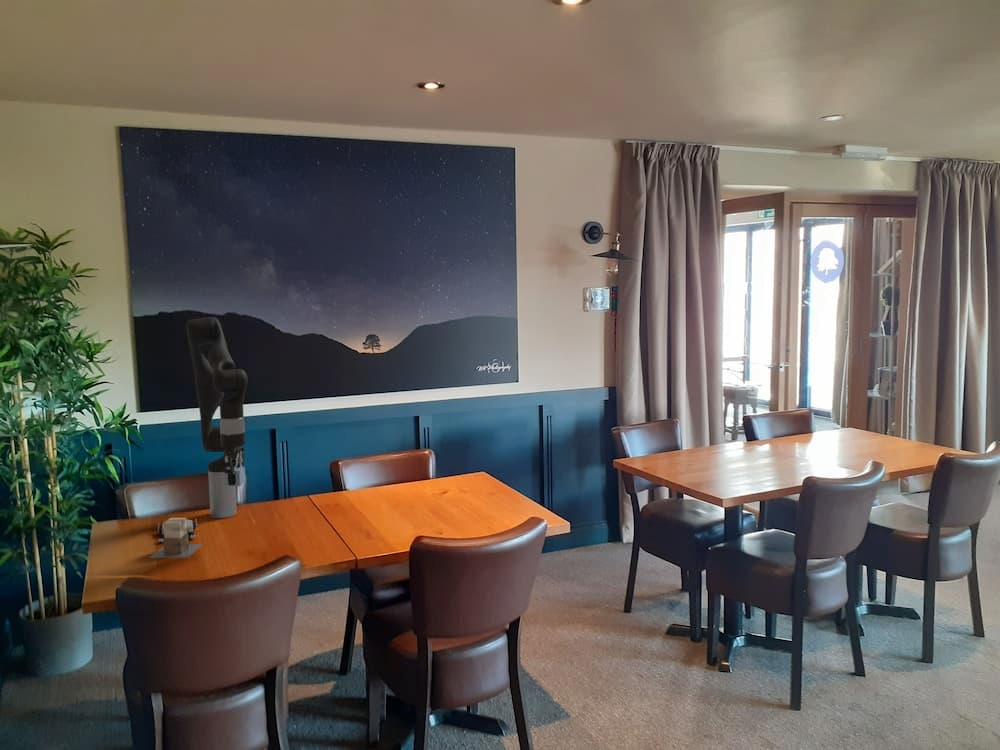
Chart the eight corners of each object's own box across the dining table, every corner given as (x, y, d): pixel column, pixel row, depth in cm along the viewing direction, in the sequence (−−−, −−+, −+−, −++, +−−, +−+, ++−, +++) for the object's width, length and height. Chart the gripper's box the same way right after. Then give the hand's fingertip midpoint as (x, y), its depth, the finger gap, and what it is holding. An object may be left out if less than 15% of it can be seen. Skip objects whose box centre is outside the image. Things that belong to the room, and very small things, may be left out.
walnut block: (171, 547, 240) (170, 532, 240) (188, 547, 240) (187, 532, 240) (164, 553, 235) (163, 538, 234) (181, 553, 235) (180, 538, 234)
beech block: (171, 533, 239) (170, 517, 239) (186, 532, 239) (186, 517, 239) (164, 538, 234) (163, 522, 234) (180, 538, 234) (179, 522, 234)
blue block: (230, 482, 245) (229, 467, 244) (245, 482, 245) (244, 467, 244) (224, 486, 240) (223, 470, 239) (240, 486, 240) (239, 470, 239)
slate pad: (166, 546, 244) (166, 544, 243) (202, 546, 244) (202, 544, 243) (149, 560, 232) (148, 557, 231) (187, 559, 232) (187, 557, 232)
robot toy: (197, 545, 248) (197, 528, 262) (197, 532, 247) (196, 516, 261) (157, 550, 244) (158, 533, 257) (156, 537, 243) (158, 520, 256)
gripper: (228, 427, 247) (231, 477, 249) (212, 435, 233) (215, 488, 235) (251, 427, 247) (253, 477, 249) (236, 435, 233) (239, 488, 235)
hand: (235, 482), depth 242 cm, fingers closed on blue block, 5 cm apart
